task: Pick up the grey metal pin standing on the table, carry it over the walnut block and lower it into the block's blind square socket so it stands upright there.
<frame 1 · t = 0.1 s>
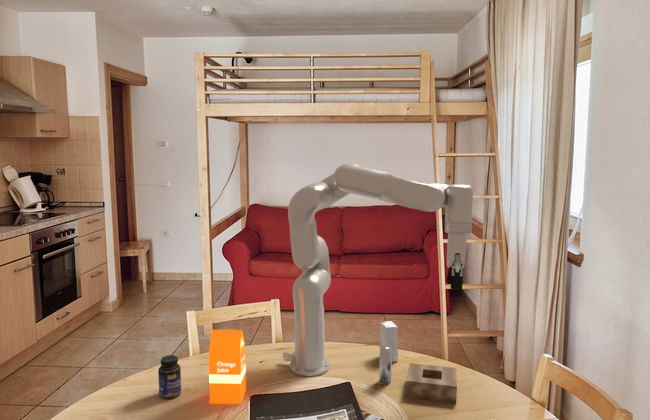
hand: (455, 284, 144), 31 cm above the table, tool pointing down, fingers open, 9 cm apart
orange juice: (228, 397, 141), on the table
pill bottle: (170, 395, 142), on the table
pin: (385, 381, 150), on the table
skincare box: (388, 358, 167), on the table
socket block: (431, 390, 145), on the table
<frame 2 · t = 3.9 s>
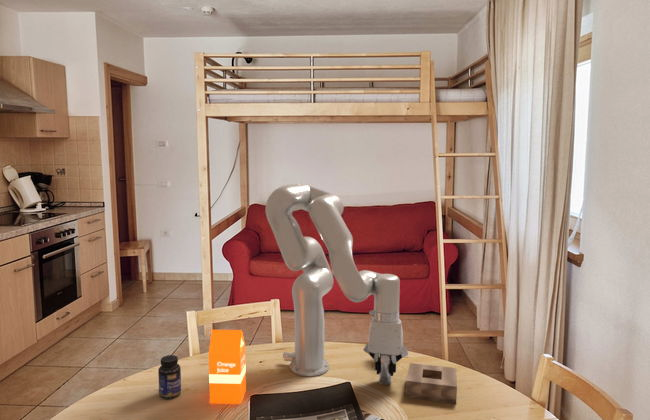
hand: (385, 372, 150), 3 cm above the table, tool pointing down, fingers closed on pin, 3 cm apart
pin: (385, 381, 150), on the table, touching gripper
everything else where it was.
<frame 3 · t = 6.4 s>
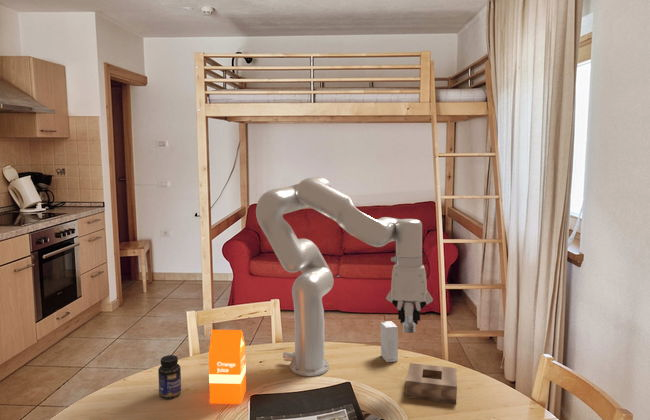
hand: (409, 321, 145), 20 cm above the table, tool pointing down, fingers closed on pin, 3 cm apart
pin: (409, 330, 146), point 17 cm above the table, touching gripper
everything else where it was.
when the fingers open (6 cm above the table, at t = 9.3 s): pin drops 2 cm, resting on socket block.
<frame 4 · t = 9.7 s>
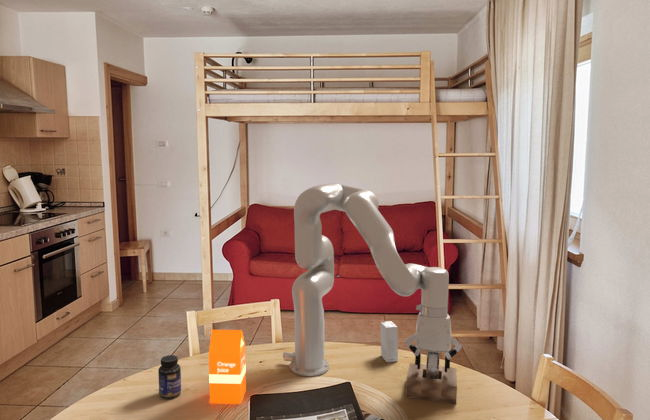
hand: (432, 368, 144), 7 cm above the table, tool pointing down, fingers open, 7 cm apart
pin: (431, 386, 145), point 1 cm above the table, touching socket block
everything else where it was.
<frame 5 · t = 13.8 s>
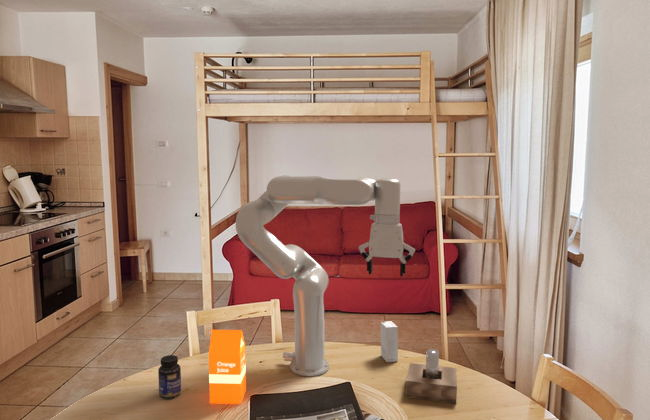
hand: (386, 274, 151), 32 cm above the table, tool pointing down, fingers open, 9 cm apart
nothing on the table moved.
at the end: pin 0.1 cm off-centre on the socket block, point 1.0 cm above the socket block's base; pin tilted 1°; the gripper is holding nothing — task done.
